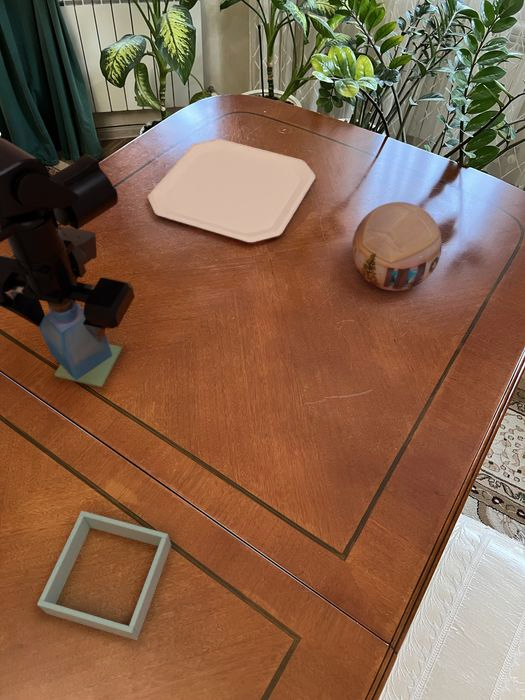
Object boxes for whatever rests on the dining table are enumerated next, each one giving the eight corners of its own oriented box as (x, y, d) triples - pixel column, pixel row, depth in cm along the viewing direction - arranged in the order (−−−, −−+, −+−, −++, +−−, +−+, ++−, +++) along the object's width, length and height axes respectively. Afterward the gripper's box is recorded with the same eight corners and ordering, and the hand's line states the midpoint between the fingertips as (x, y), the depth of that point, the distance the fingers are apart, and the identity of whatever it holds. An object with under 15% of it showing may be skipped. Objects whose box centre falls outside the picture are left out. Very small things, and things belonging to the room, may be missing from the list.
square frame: (46, 613, 68) (36, 604, 65) (88, 522, 75) (81, 510, 72) (137, 640, 67) (131, 633, 64) (171, 544, 74) (168, 533, 71)
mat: (54, 376, 90) (53, 374, 89) (77, 338, 94) (76, 336, 94) (101, 387, 88) (101, 386, 88) (122, 348, 93) (121, 346, 93)
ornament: (355, 310, 99) (369, 245, 87) (340, 252, 108) (351, 185, 97) (439, 306, 100) (464, 240, 89) (417, 248, 110) (437, 181, 98)
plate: (137, 216, 114) (135, 207, 112) (202, 141, 130) (201, 132, 129) (272, 257, 107) (272, 248, 106) (322, 172, 124) (323, 164, 122)
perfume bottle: (87, 331, 85) (67, 273, 75) (112, 355, 82) (94, 298, 73) (51, 354, 82) (25, 297, 73) (75, 380, 79) (51, 324, 70)
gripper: (141, 217, 69) (158, 304, 81) (3, 190, 72) (39, 278, 84) (102, 281, 62) (127, 365, 75) (-49, 249, 65) (-1, 335, 78)
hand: (72, 332), depth 78 cm, fingers closed on perfume bottle, 8 cm apart
